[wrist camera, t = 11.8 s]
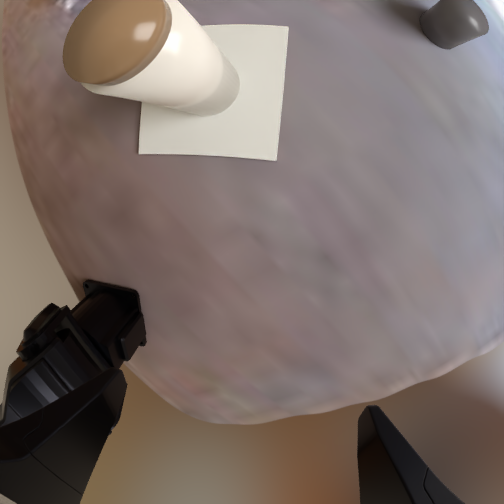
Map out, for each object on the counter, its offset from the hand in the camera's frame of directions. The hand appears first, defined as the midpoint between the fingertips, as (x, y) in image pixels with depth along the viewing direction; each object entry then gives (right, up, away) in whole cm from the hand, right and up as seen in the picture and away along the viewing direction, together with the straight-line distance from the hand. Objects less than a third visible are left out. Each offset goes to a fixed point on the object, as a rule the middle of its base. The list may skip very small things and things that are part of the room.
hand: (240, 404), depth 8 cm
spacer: (+15, +23, +3) cm, 27 cm away
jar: (-3, +16, +7) cm, 18 cm away
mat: (-3, +17, +8) cm, 18 cm away
